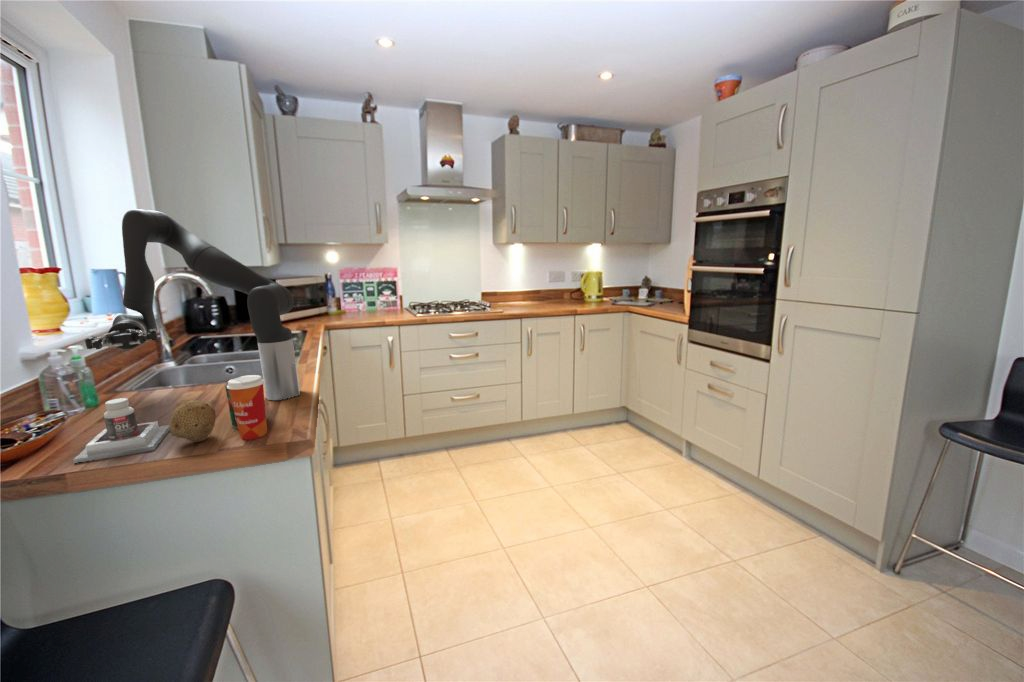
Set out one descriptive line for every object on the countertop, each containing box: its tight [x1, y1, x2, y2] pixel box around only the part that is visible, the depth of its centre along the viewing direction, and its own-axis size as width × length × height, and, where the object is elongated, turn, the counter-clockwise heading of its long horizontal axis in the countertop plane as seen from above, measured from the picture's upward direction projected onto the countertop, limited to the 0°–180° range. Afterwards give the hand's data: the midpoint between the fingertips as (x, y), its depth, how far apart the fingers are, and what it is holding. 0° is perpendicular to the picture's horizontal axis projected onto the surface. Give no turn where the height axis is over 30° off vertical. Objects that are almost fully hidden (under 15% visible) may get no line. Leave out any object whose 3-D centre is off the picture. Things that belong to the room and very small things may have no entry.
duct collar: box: [72, 420, 170, 464], centre depth 107 cm, size 14×14×3 cm
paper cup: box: [227, 374, 268, 441], centre depth 109 cm, size 8×8×14 cm
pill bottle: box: [103, 397, 139, 440], centre depth 106 cm, size 5×5×10 cm
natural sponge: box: [168, 399, 217, 443], centre depth 106 cm, size 9×9×10 cm
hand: (119, 342), depth 114 cm, fingers open, 8 cm apart
